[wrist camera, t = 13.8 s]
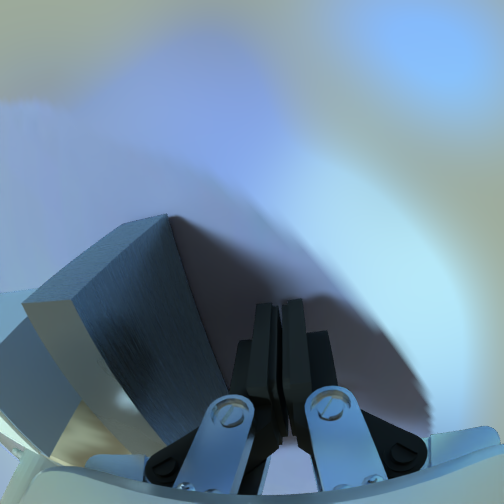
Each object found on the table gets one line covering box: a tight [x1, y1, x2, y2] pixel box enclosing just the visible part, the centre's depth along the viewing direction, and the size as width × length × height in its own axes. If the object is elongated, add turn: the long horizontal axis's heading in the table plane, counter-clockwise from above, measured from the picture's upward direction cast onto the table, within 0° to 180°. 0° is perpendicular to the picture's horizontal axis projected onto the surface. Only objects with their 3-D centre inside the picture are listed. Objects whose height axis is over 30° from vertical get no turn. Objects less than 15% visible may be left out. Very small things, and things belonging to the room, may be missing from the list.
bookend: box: [21, 214, 229, 457], centre depth 9 cm, size 2×10×6 cm, turn 11°
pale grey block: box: [0, 288, 82, 458], centre depth 11 cm, size 8×6×8 cm
